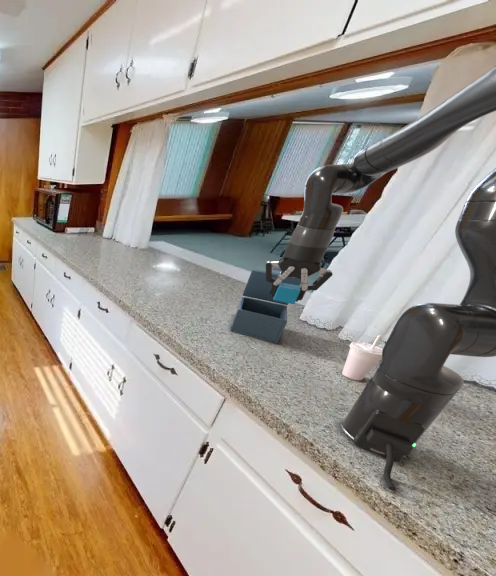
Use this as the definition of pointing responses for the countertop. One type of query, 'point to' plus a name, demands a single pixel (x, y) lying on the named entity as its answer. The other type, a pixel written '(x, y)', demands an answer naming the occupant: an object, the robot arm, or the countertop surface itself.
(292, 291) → the block
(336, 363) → the countertop surface
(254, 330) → the compartment
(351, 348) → the smoothie
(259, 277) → the lid
